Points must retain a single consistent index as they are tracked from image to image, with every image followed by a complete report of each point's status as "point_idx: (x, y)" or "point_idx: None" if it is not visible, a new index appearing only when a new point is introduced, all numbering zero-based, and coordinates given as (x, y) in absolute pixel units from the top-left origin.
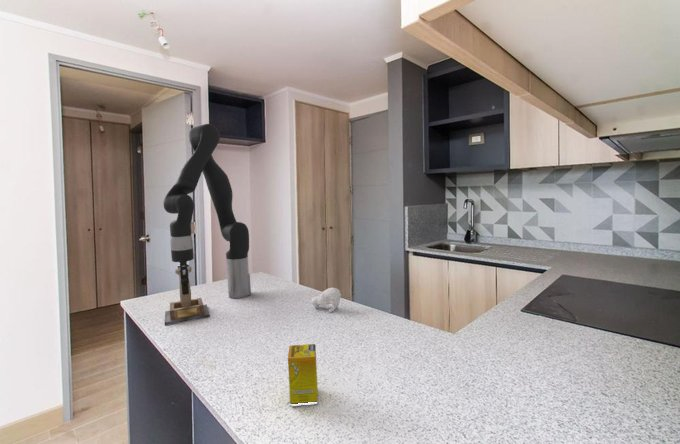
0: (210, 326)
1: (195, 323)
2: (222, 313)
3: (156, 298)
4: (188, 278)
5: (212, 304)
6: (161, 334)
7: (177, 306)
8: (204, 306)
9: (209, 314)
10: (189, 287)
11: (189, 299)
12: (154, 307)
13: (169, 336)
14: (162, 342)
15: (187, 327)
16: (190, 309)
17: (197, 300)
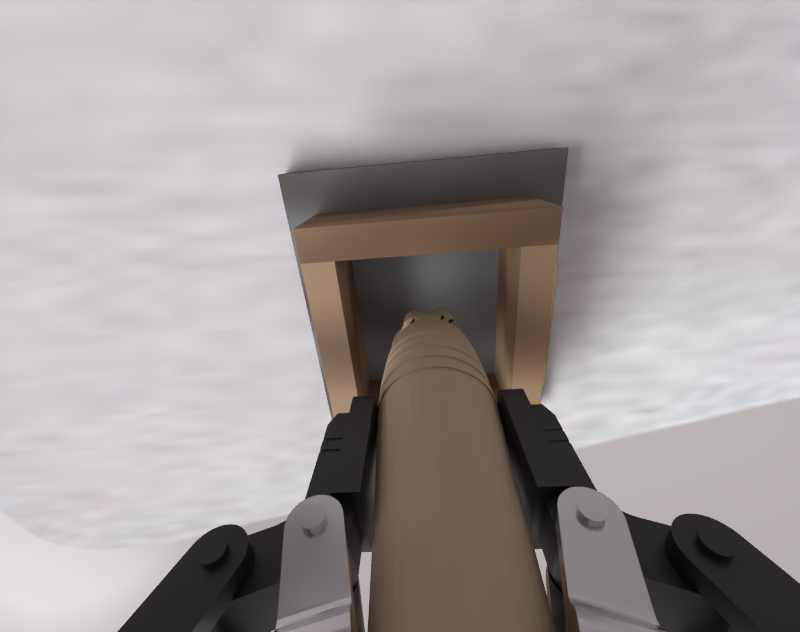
0: (773, 146)
1: (622, 252)
2: (536, 25)
3: (29, 469)
4: (504, 570)
5: (235, 121)
6: (658, 407)
7: (362, 385)
8: (333, 193)
9: (567, 150)
10: (478, 420)
11: (464, 343)
12: (198, 464)
13: (722, 374)
14: (776, 396)
15: (658, 296)
16: (551, 308)
17: (337, 261)
